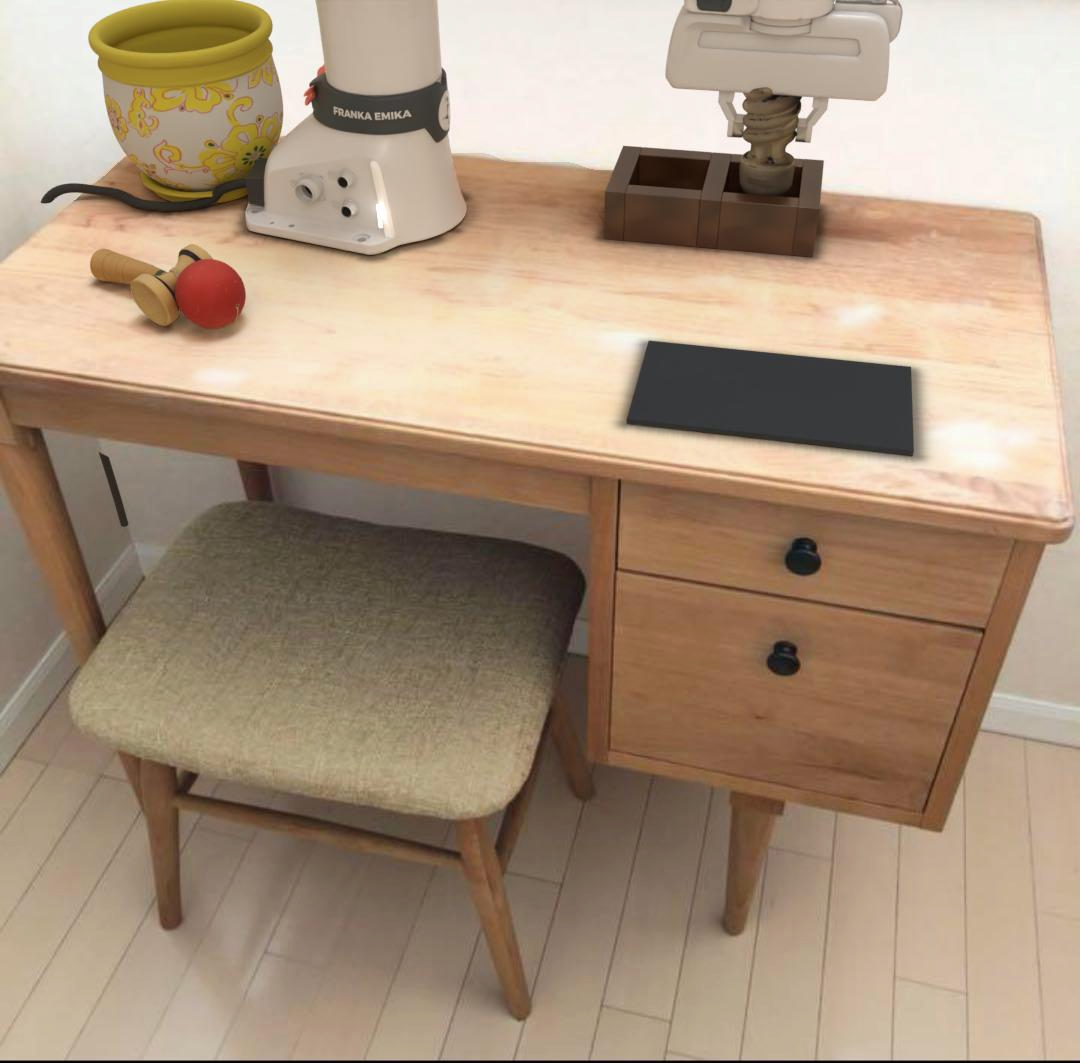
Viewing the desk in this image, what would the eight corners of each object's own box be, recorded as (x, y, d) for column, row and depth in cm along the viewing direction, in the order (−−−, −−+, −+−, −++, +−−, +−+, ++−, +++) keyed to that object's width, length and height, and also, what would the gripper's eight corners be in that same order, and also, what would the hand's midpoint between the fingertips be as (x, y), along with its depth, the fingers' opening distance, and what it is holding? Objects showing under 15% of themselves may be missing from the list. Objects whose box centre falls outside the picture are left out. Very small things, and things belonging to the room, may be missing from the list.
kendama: (73, 312, 113) (202, 344, 104) (59, 244, 110) (190, 271, 101) (141, 292, 119) (269, 321, 109) (129, 227, 116) (260, 251, 106)
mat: (626, 423, 96) (626, 418, 96) (648, 345, 105) (648, 340, 105) (912, 455, 93) (914, 450, 92) (910, 371, 101) (911, 366, 101)
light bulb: (728, 236, 121) (742, 85, 111) (732, 212, 125) (745, 64, 115) (786, 240, 120) (805, 88, 110) (787, 216, 124) (806, 66, 114)
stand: (603, 239, 120) (604, 191, 117) (621, 191, 129) (623, 145, 126) (812, 257, 117) (819, 208, 114) (817, 206, 125) (823, 160, 122)
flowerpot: (321, 156, 137) (301, 4, 126) (247, 226, 124) (218, 63, 113) (178, 139, 141) (147, -10, 130) (92, 206, 128) (50, 46, 117)
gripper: (906, -20, 108) (879, 132, 117) (676, -31, 111) (668, 118, 120) (907, 2, 103) (879, 159, 112) (667, -10, 107) (659, 143, 116)
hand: (768, 137), depth 116 cm, fingers closed on light bulb, 5 cm apart
